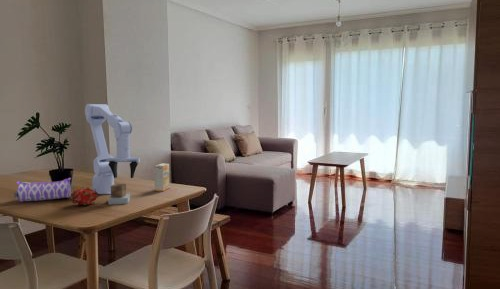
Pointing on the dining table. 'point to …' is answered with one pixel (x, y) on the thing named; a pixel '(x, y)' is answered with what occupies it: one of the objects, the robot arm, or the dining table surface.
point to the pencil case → (43, 190)
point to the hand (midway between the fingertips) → (123, 177)
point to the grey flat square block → (119, 199)
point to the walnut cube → (118, 190)
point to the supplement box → (161, 177)
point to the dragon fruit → (84, 196)
